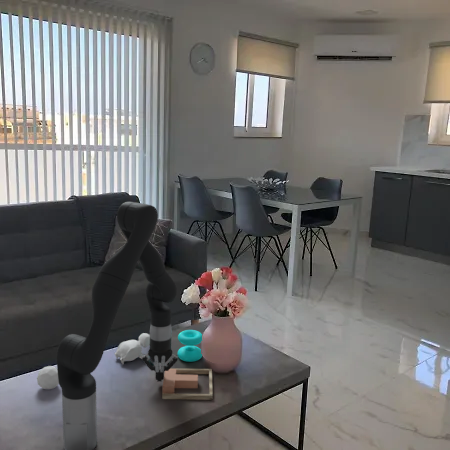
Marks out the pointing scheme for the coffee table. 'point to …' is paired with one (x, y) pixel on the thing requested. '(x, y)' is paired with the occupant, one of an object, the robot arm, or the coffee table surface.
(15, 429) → the coffee table surface
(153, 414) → the coffee table surface
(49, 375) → the geometric ball
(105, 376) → the coffee table surface
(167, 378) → the t piece
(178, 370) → the frame
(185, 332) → the donuts
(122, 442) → the coffee table surface
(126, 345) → the white animal figure
